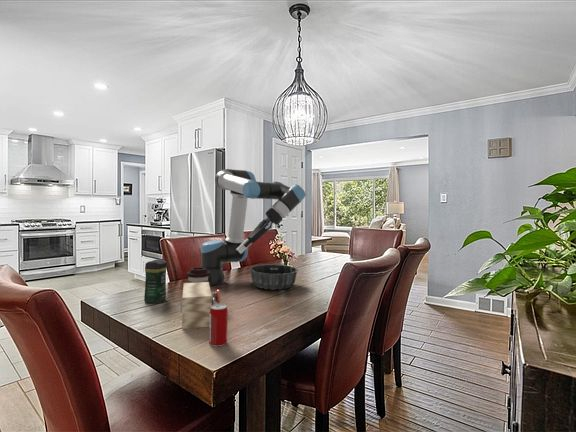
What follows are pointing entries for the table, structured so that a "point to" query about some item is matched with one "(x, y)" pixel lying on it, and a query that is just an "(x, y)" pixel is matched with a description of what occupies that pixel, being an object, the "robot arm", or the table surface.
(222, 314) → the soda can
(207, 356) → the table surface
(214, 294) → the red plug
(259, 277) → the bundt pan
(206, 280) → the coffee cup
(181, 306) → the steel plug
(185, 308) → the block
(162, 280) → the coffee jar
